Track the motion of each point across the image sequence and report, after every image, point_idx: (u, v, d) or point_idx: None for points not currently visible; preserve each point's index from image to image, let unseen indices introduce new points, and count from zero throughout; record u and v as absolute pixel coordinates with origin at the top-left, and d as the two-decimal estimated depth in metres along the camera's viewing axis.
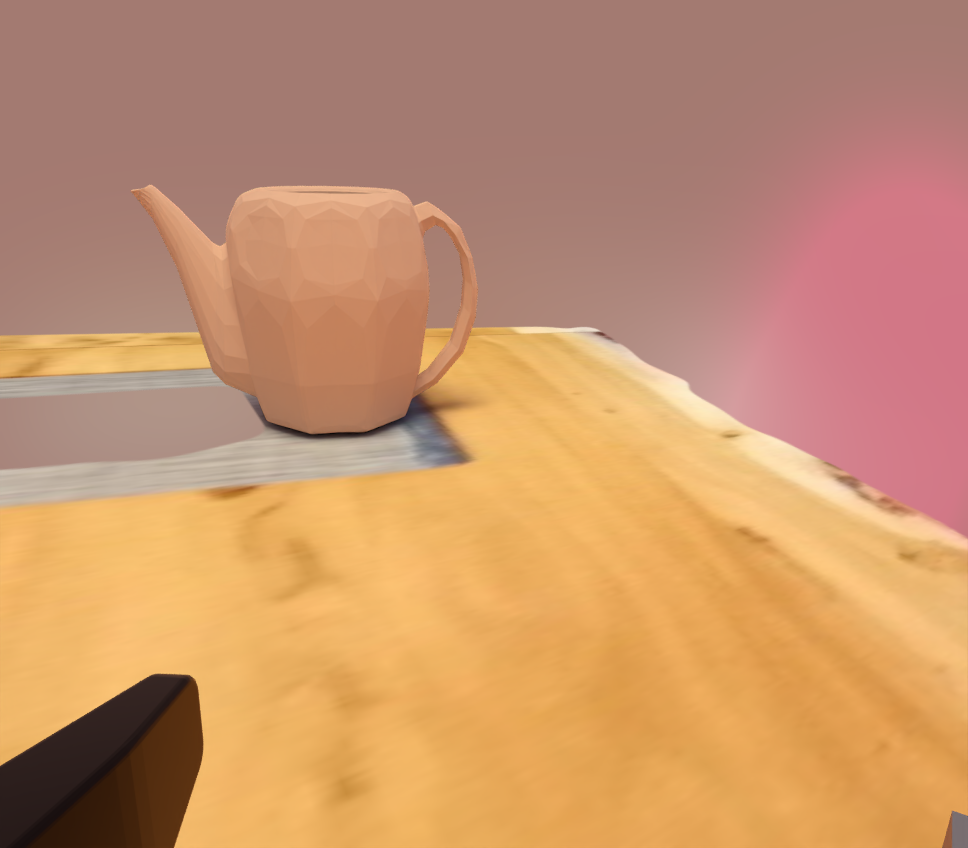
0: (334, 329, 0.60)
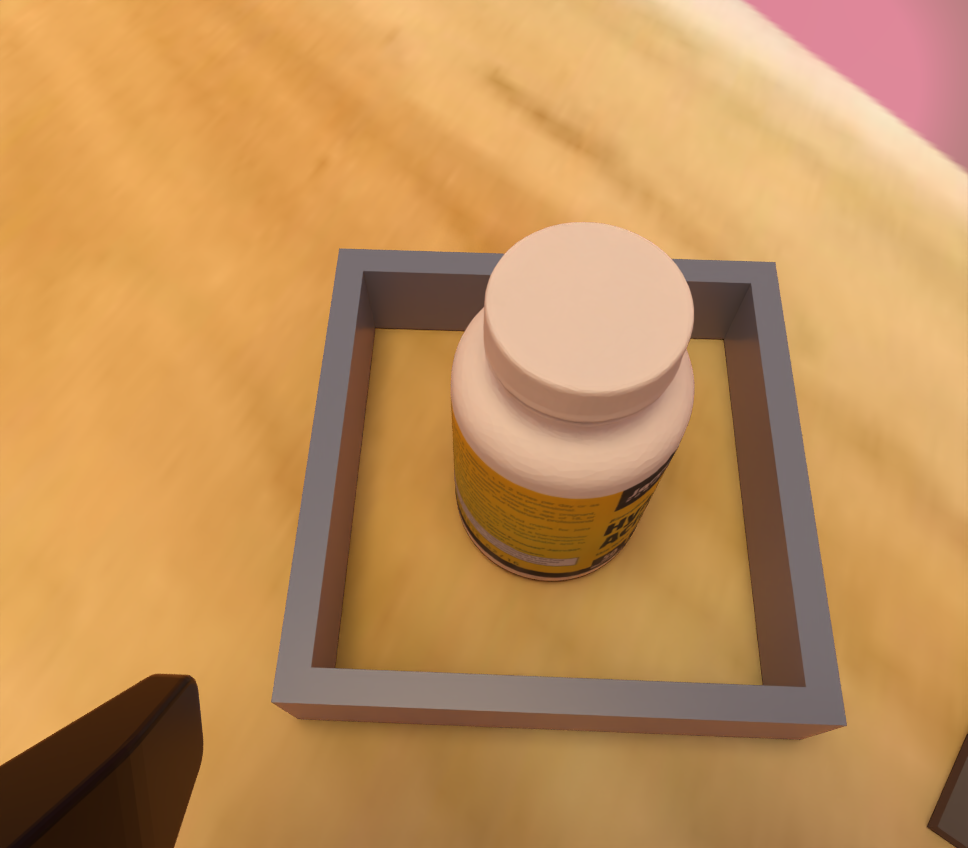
0: None
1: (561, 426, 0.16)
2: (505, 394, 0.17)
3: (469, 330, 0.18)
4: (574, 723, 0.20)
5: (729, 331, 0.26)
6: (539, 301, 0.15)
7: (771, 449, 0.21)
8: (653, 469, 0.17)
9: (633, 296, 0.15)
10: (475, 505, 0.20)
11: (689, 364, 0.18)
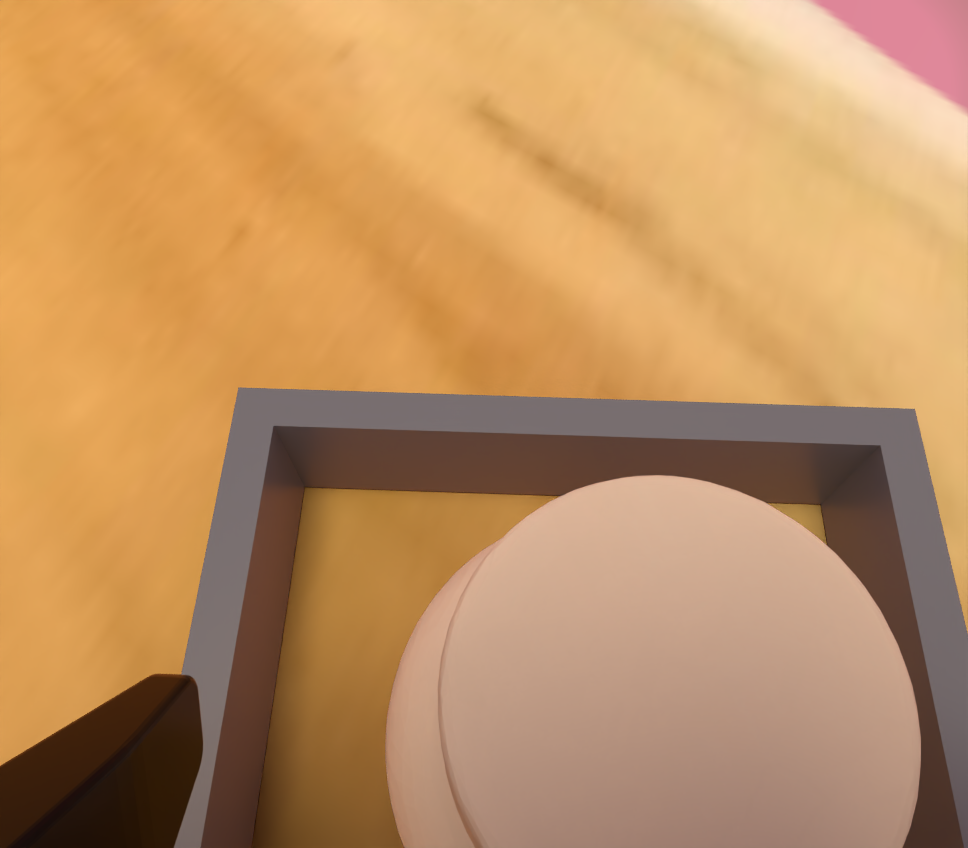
0: None
1: None
2: None
3: (421, 641, 0.09)
4: None
5: (832, 498, 0.17)
6: (563, 692, 0.07)
7: (939, 752, 0.13)
8: None
9: (777, 679, 0.07)
10: None
11: None
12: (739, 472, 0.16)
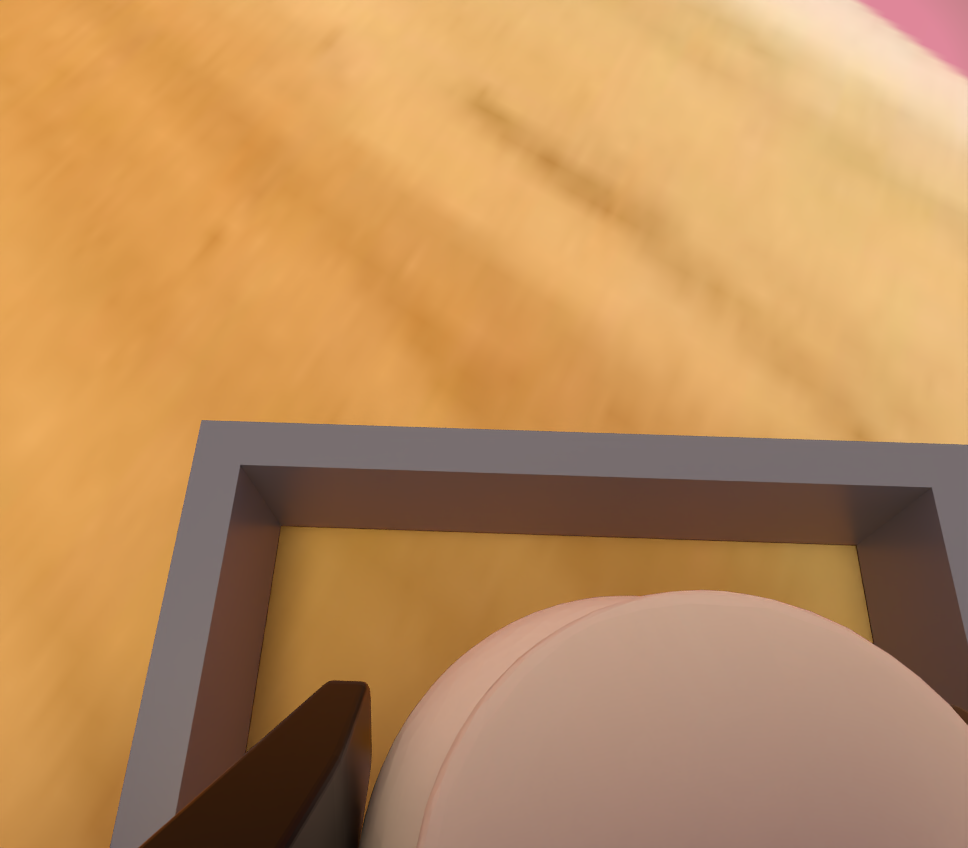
0: None
1: None
2: None
3: (397, 770, 0.07)
4: None
5: (871, 540, 0.15)
6: None
7: None
8: None
9: None
10: None
11: None
12: (768, 513, 0.15)
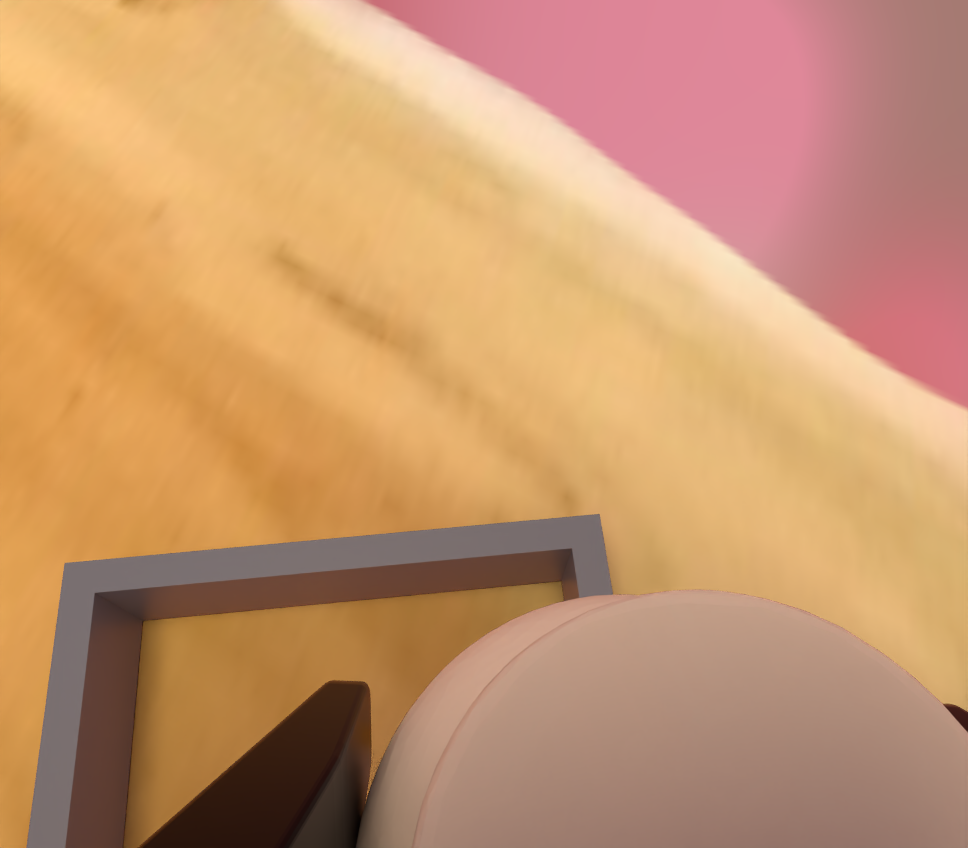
0: None
1: None
2: None
3: (394, 770, 0.07)
4: None
5: (564, 578, 0.22)
6: None
7: None
8: None
9: None
10: None
11: None
12: (481, 573, 0.21)
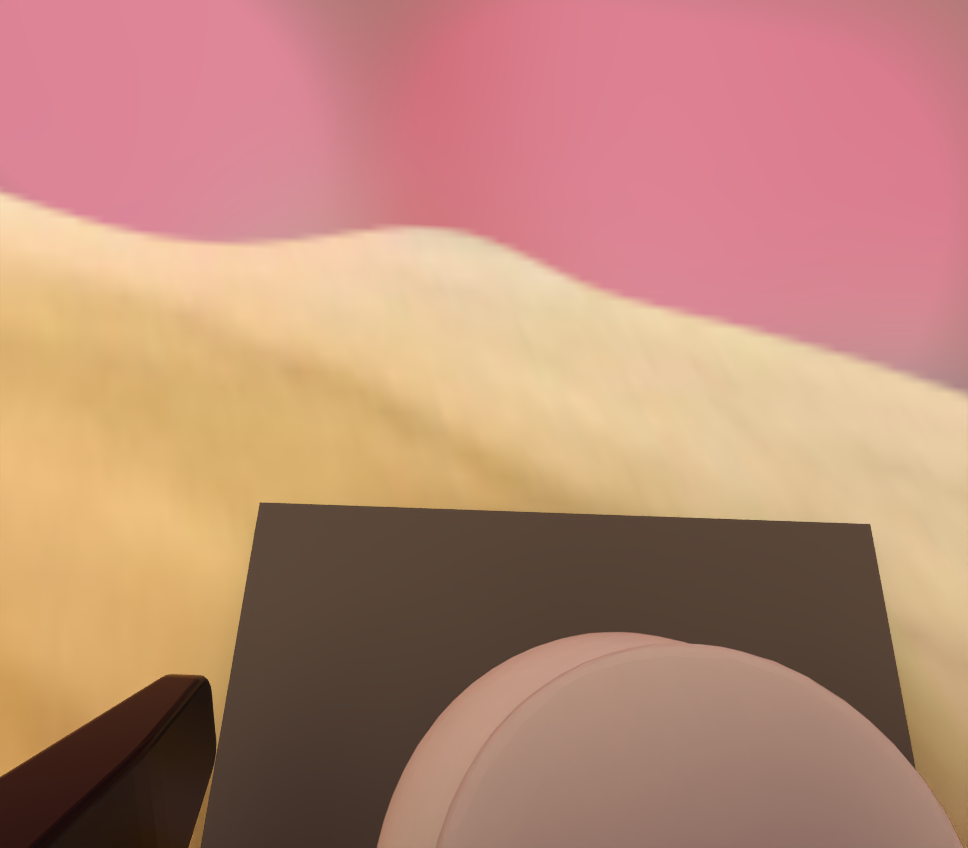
0: None
1: None
2: None
3: (408, 798, 0.08)
4: None
5: None
6: None
7: None
8: None
9: None
10: None
11: None
12: None
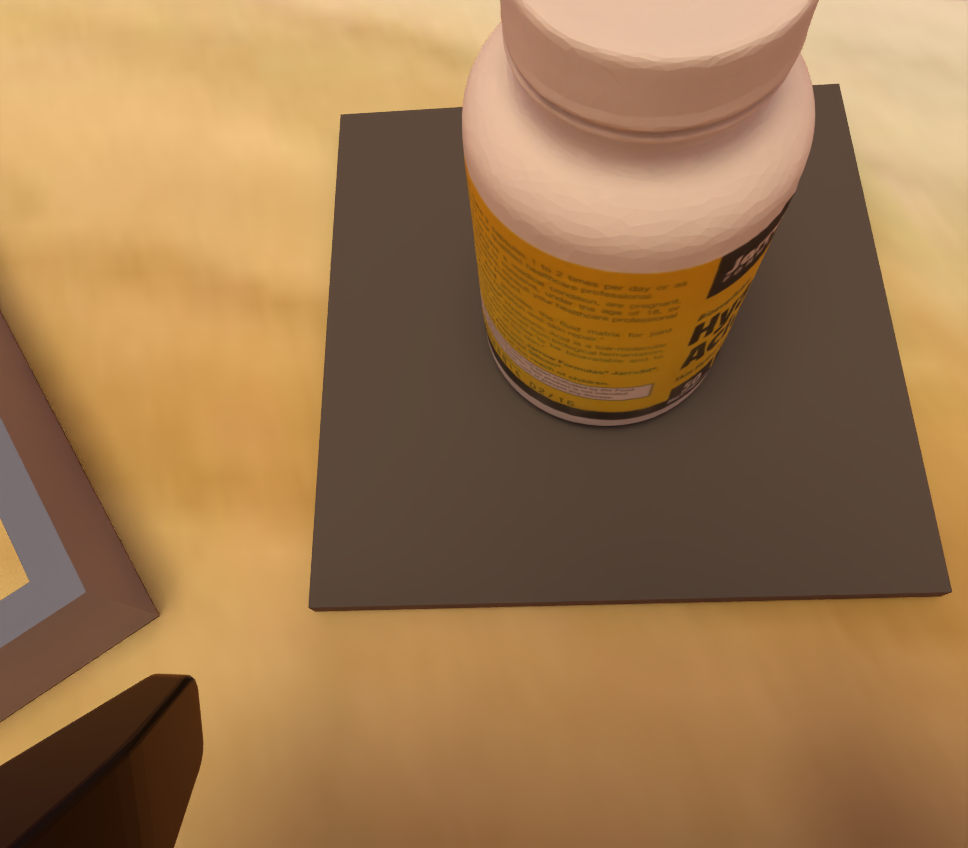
0: None
1: (628, 155, 0.11)
2: (541, 122, 0.11)
3: (482, 52, 0.12)
4: None
5: None
6: None
7: None
8: (764, 220, 0.12)
9: None
10: (511, 323, 0.15)
11: (805, 66, 0.12)
12: None
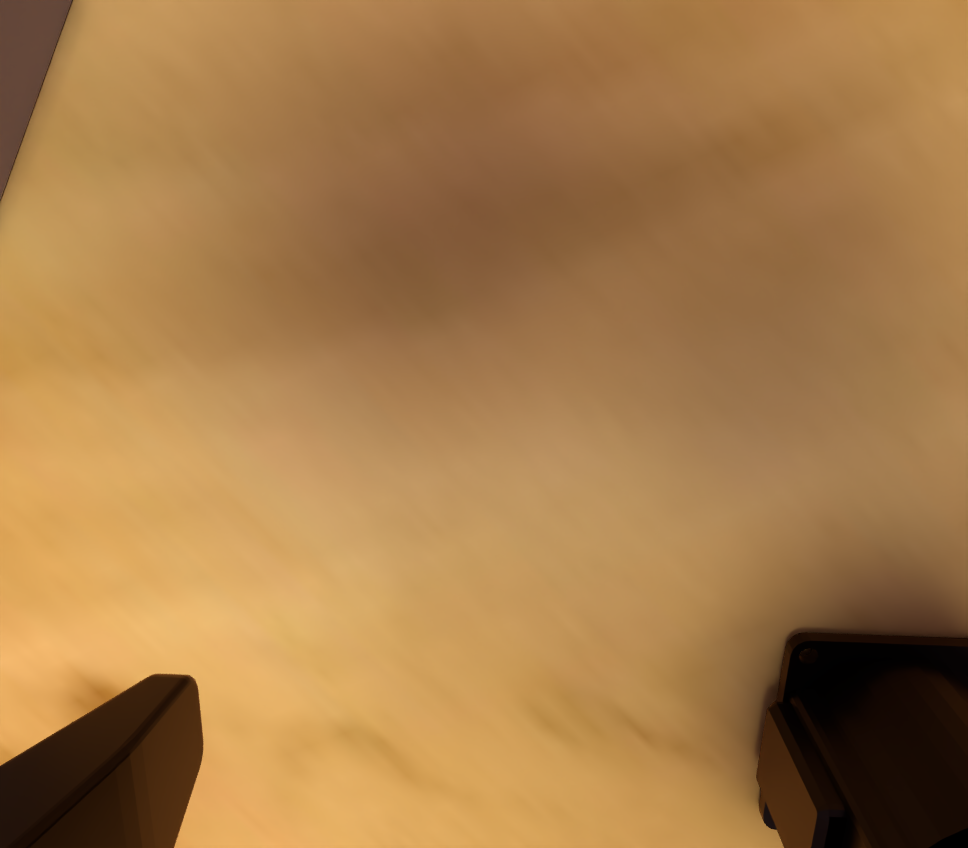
0: None
1: None
2: None
3: None
4: None
5: None
6: None
7: None
8: None
9: None
10: None
11: None
12: None
